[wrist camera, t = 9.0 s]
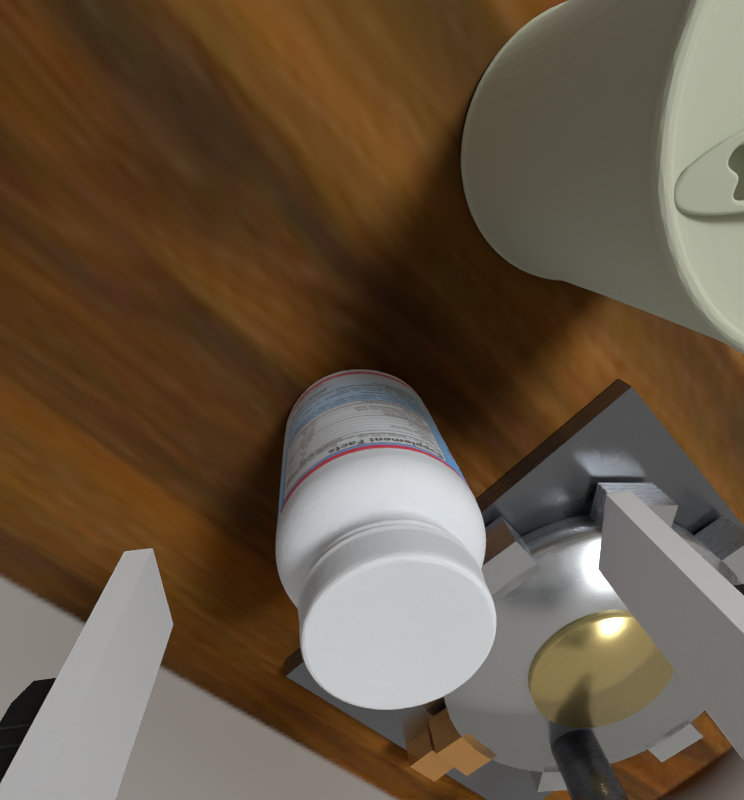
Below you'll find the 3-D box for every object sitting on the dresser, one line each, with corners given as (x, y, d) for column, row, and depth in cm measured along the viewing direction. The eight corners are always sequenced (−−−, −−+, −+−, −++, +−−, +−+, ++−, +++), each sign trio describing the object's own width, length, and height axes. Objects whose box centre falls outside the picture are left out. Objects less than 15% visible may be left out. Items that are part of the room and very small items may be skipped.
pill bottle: (408, 500, 24) (485, 740, 14) (274, 481, 23) (246, 727, 12) (445, 377, 22) (569, 549, 11) (299, 349, 21) (291, 513, 10)
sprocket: (390, 767, 29) (417, 960, 22) (427, 481, 22) (483, 624, 15) (690, 747, 31) (804, 915, 24) (804, 483, 24) (1011, 607, 17)
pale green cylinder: (428, 54, 17) (637, -174, 6) (693, -46, 17) (1389, -464, 6) (493, 312, 21) (698, 452, 10) (713, 232, 21) (1173, 284, 10)
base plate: (286, 659, 27) (284, 698, 25) (618, 378, 23) (649, 397, 21) (510, 799, 33) (523, 839, 31) (798, 600, 29) (834, 631, 27)
